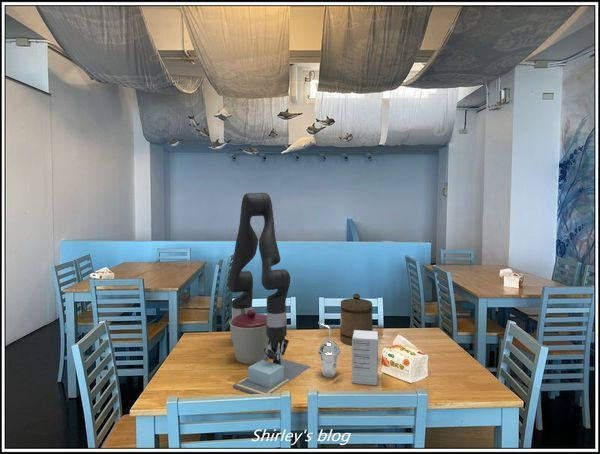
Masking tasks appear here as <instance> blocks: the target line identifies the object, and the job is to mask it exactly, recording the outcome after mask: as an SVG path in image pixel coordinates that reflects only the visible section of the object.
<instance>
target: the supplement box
mask: <svg viewBox="0 0 600 454" xmlns="http://www.w3.org/2000/svg"><path fill="white" fill-rule="evenodd" d="M378 337H379V332H378V331H376V330H372V331H361V330H354V333H353V337H352V345H351V383H352V384H358V385H371V386H378V379H379V377H378V376H379V375H378V373H379V372H378V370H379V338H378Z"/></svg>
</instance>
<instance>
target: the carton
mask: <svg viewBox="0 0 600 454" xmlns="http://www.w3.org/2000/svg"><path fill="white" fill-rule="evenodd" d="M272 362H273V361H272ZM272 362H270V361H268V360H261V361H259V362H257V363H255V364H250V366H248V367H247V377H248V381H251V382H254V383H256V384H259V385H262V386H265V387H268V388H271V387H273V386H274V385H276V384H277V383H279V382H281V381H282V380H284V366H282V365H278V364H275V363H272Z"/></svg>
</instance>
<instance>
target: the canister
mask: <svg viewBox="0 0 600 454" xmlns="http://www.w3.org/2000/svg"><path fill="white" fill-rule="evenodd" d="M266 315H267V314H264V313H258V312H256V310H255V309H252V310H249V311H248V312H247V314H241V315H238V316H236V317H234V318H233V319H232V318H231V319H230V320H229V321H228V324H229V326H231V331H232V338H233V344H232V346H233V352H234V355H235V359H236V361H237V362H239V363H241V364H245V365H253V364H255V363H257V362H259V361H261V360H265V361H267V359H268V356H267V355H266V353H265V352H264V349H265V348H266V349H267V347H268V341H269V338H268V337H267V335H266ZM231 331H230V332H231Z"/></svg>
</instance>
